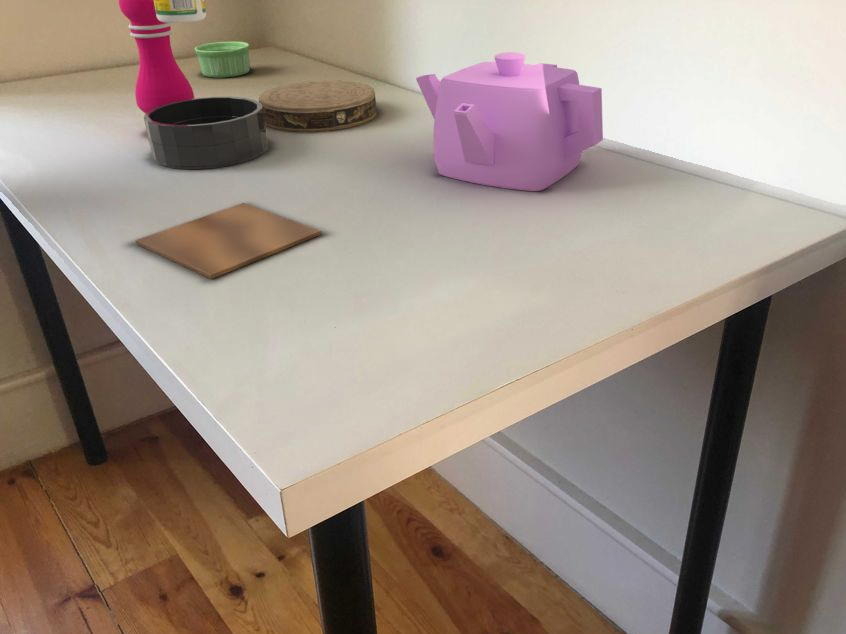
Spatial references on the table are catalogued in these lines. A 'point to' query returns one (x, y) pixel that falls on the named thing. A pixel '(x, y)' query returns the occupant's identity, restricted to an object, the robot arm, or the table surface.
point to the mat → (227, 239)
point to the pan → (206, 132)
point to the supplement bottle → (180, 10)
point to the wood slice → (318, 106)
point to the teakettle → (511, 122)
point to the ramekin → (223, 59)
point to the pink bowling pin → (154, 58)
